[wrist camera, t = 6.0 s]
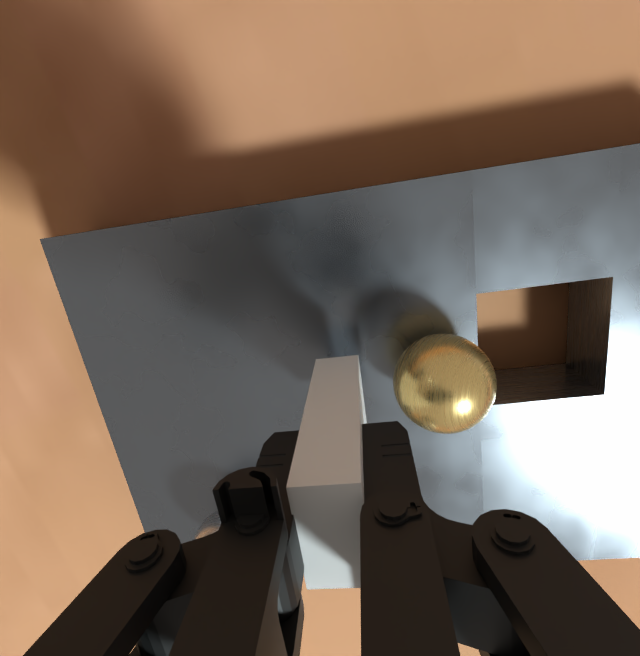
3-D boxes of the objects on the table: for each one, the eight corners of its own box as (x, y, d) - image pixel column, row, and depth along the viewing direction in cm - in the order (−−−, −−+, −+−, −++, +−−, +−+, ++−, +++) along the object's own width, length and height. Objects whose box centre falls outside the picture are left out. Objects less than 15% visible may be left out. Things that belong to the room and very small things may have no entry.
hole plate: (88, 231, 18) (39, 239, 15) (679, 137, 15) (753, 125, 12) (185, 532, 23) (162, 579, 21) (638, 504, 20) (684, 555, 18)
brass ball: (512, 327, 14) (419, 317, 16) (474, 362, 11) (371, 344, 13) (508, 417, 15) (421, 396, 17) (473, 467, 12) (377, 435, 14)
